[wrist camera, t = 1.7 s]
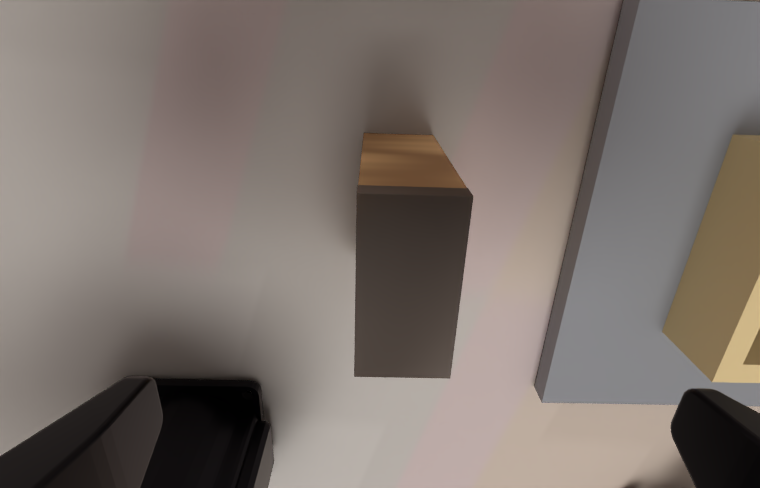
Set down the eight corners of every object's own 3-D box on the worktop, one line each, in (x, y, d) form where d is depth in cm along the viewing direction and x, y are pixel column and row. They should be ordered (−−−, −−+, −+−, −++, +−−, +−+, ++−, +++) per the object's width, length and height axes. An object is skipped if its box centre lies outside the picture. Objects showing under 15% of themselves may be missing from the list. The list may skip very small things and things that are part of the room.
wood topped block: (361, 258, 18) (354, 376, 12) (363, 132, 16) (356, 192, 10) (422, 259, 18) (449, 378, 12) (433, 134, 16) (473, 196, 10)
